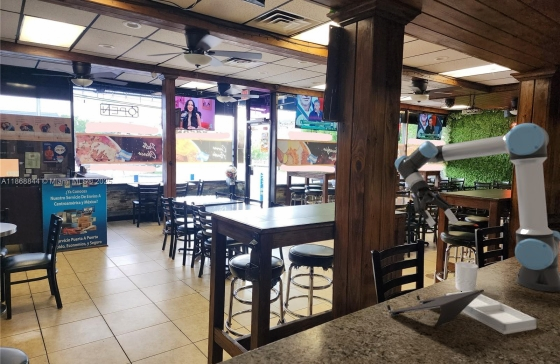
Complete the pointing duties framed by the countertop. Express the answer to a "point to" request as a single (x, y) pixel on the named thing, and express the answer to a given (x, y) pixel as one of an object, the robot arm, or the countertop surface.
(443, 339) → the countertop surface
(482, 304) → the white divided tray
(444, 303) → the portable electronic device stand
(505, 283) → the countertop surface
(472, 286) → the white cup
